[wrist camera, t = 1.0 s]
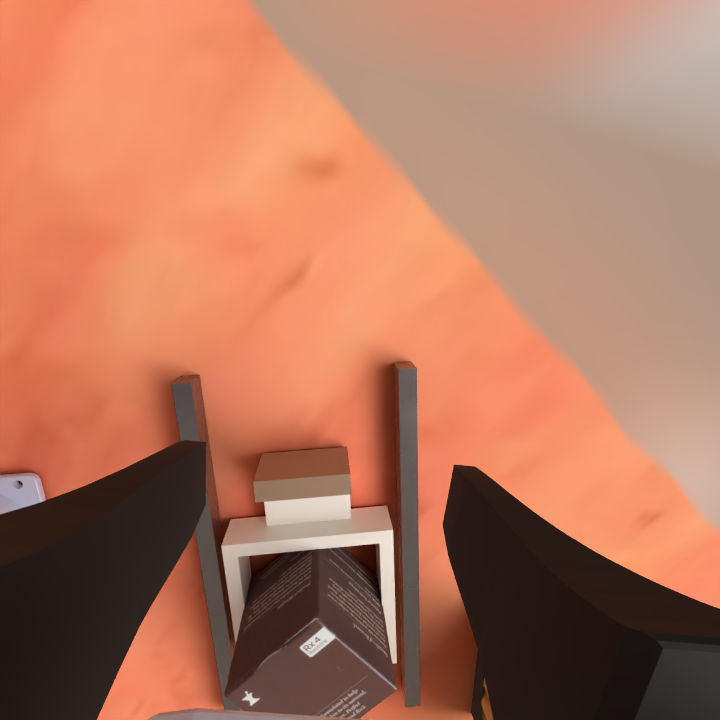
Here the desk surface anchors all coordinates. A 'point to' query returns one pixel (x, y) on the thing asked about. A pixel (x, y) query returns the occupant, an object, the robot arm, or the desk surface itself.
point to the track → (405, 383)
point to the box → (312, 639)
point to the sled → (307, 523)
